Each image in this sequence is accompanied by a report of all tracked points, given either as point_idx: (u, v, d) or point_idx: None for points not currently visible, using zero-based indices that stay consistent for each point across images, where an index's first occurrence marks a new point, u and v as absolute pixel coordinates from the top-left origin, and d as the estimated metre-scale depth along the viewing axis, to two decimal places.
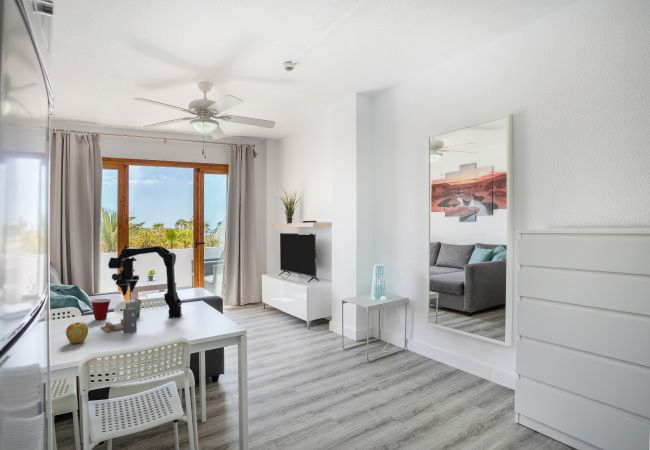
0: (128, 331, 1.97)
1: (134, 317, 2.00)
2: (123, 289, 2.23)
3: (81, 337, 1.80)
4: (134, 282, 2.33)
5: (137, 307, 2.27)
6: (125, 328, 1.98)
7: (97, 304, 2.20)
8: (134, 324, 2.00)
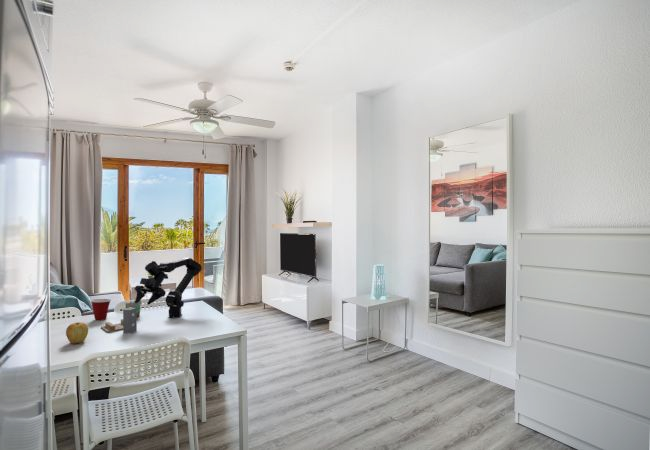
0: (128, 331, 1.97)
1: (134, 317, 2.00)
2: (153, 298, 2.07)
3: (81, 337, 1.80)
4: (143, 295, 2.14)
5: (137, 307, 2.27)
6: (125, 328, 1.98)
7: (97, 304, 2.20)
8: (134, 324, 2.00)
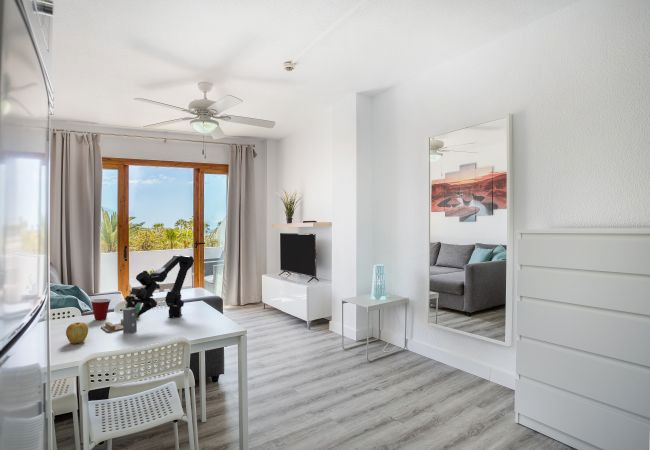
0: (128, 331, 1.97)
1: (134, 317, 2.00)
2: (144, 309, 2.01)
3: (81, 337, 1.80)
4: (133, 306, 2.08)
5: (137, 307, 2.27)
6: (125, 328, 1.98)
7: (97, 304, 2.20)
8: (134, 324, 2.00)
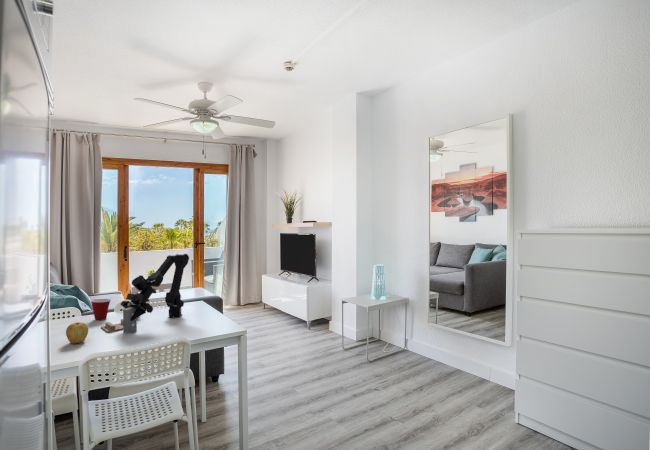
0: (128, 331, 1.97)
1: None
2: (136, 314, 2.00)
3: (81, 337, 1.80)
4: None
5: None
6: (125, 328, 1.98)
7: (97, 304, 2.20)
8: (134, 324, 2.00)
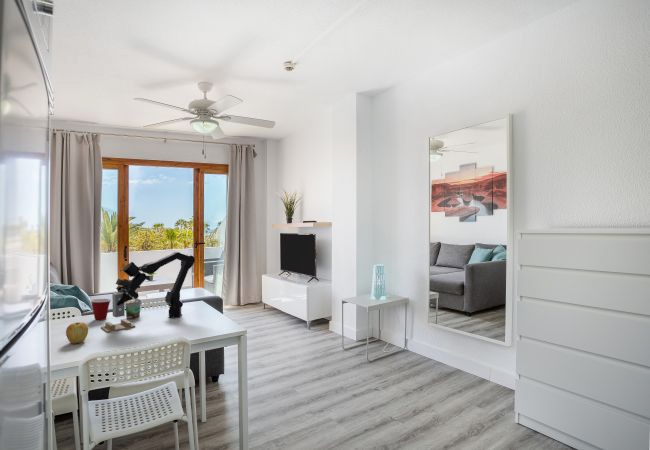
0: (115, 315, 2.04)
1: None
2: (123, 299, 2.05)
3: (81, 337, 1.80)
4: None
5: (137, 307, 2.27)
6: (113, 312, 2.05)
7: (97, 304, 2.20)
8: (122, 309, 2.06)
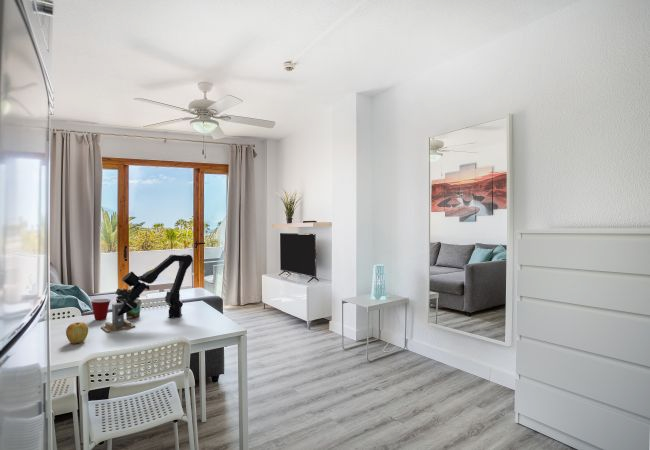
0: None
1: None
2: (123, 310, 2.04)
3: (81, 337, 1.80)
4: None
5: (137, 307, 2.27)
6: (113, 323, 2.06)
7: (97, 304, 2.20)
8: (121, 319, 2.06)
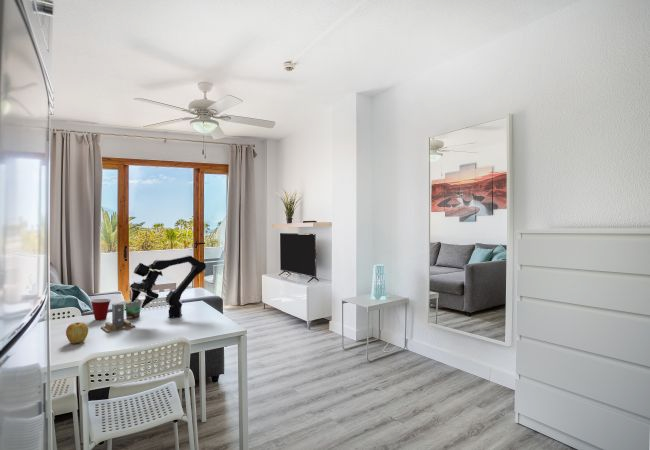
0: None
1: (121, 312, 2.06)
2: (146, 301, 2.15)
3: (81, 337, 1.80)
4: (139, 292, 2.22)
5: (137, 307, 2.27)
6: (113, 323, 2.06)
7: (97, 304, 2.20)
8: (121, 319, 2.06)
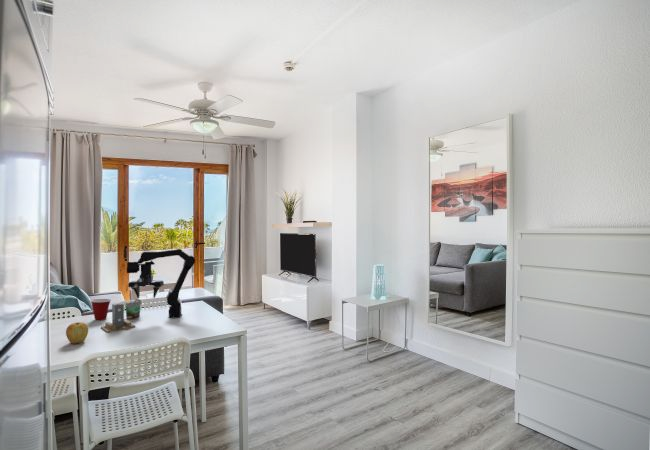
0: None
1: (121, 312, 2.06)
2: (156, 291, 2.24)
3: (81, 337, 1.80)
4: (138, 287, 2.25)
5: (137, 307, 2.27)
6: (113, 323, 2.06)
7: (97, 304, 2.20)
8: (121, 319, 2.06)
